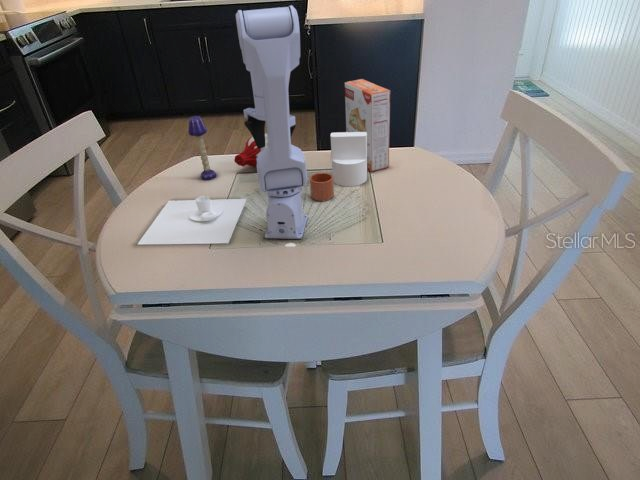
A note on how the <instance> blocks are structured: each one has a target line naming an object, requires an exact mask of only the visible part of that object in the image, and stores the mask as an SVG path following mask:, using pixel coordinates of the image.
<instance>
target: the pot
mask: <svg viewBox="0 0 640 480" xmlns="http://www.w3.org/2000/svg"><path fill="white" fill-rule="evenodd" d="M334 184H335V183H334V182H333V176H332V173H331V174H330V173H328V172H318V173H314V174H311V175H310V176H309V191H310V196H311V198H312V199H313V200H315V201H318V202H325V201H329V200H331V199H332V198H333V197H334V195H335V186H334Z"/></svg>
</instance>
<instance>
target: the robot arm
mask: <svg viewBox="0 0 640 480" xmlns="http://www.w3.org/2000/svg"><path fill="white" fill-rule="evenodd" d="M235 21H236V28H237V30H236V31H237V36H238V40H239V41H238V42H239V47H240V50H241V56H242V62H243V64H244V65H245V69H246V71H248V72H249V74H250V81H251V87H252V96H253V102H254V107H247V108H245V109H243V117H244V118H245V119H246V120H245V121H244V122H243V123H244V126H245V128H246V129H247V130H248V131H249V133H250V134H251V137H253V138H254V141H255V143H256V146H257V148H258V149H261V148H263V147H265V134H267V137H268V147H266V148H265V149H264V150H263V151H261V152H260V153H259V154H258V155H257V157H258V158H257V168H256V173H257V178H258V185H259V190H260V191H261V192H263V193H266V197H267V204H268V205H267V208H266V211H265V217H266V224H267V229H266V232H265V234H264V238H265V239H285V240H287V239H289V240H291V239H293V240H301V239H303V236H304V233H305V229H306V225H307V222H308V219H309V215H308V214H304V210H303V209H304V208H303V198H302V192H303V187H306V186H307V184H308V170H307V163H306V158H305V154H304V152H303V150H302V149H301V148H300V147H297V146H295V145H293V144H292V140H291V139H292V136H293V133H294V131H295V129H296V126H297V124H296V116H295V115H292V114H290V97H289V84H290V79H291V78H290V77H291V72H292V71H294V70H295V69H296V68H297V67H298V66H299V65H300V58H301V31H300V21H299V15H298V11H297V9H296V8H295V7H294V5H292V4H291V5H288V6H282V7H271V8H259V9H249V10H243V11H242V9H238V10H237V12H236V13H235Z"/></svg>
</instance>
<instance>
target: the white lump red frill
mask: <svg viewBox="0 0 640 480" xmlns="http://www.w3.org/2000/svg"><path fill="white" fill-rule="evenodd" d="M266 147H268V137H267V133H265V147H263V148H261V149H258V148H257V146H256V143H255V141H254V138H253V136H250V137H249V138H248V139H247V141H246V142H245V147H244V149H243V150H242V152H240V153H238V154H236V155H235V156H234V162H235V164H236V165H237V166H240V167H245V166H250V167H255V168H256V169H257V158H258V157H257V155H258V154H259V153H260V152H261V151H263V150H264V149H265V148H266Z"/></svg>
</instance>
